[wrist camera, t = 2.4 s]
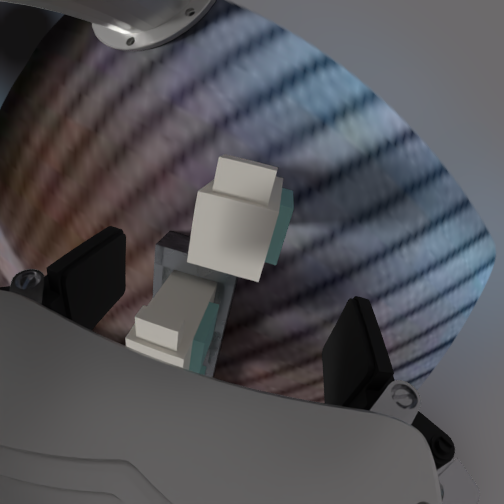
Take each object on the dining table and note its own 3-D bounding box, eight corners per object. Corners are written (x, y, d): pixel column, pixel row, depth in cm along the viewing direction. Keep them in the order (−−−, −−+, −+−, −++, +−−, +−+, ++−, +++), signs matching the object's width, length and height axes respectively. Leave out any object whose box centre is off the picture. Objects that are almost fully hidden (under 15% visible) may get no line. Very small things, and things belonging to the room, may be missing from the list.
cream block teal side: (176, 251, 23) (123, 317, 15) (230, 267, 23) (199, 344, 15) (171, 304, 25) (130, 373, 17) (219, 319, 25) (191, 396, 17)
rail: (169, 230, 24) (155, 244, 21) (244, 251, 24) (238, 268, 21) (162, 386, 35) (155, 402, 33) (207, 401, 35) (202, 417, 33)
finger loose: (238, 143, 20) (204, 155, 12) (299, 159, 20) (306, 180, 12) (223, 211, 23) (186, 262, 15) (279, 227, 23) (273, 286, 15)
